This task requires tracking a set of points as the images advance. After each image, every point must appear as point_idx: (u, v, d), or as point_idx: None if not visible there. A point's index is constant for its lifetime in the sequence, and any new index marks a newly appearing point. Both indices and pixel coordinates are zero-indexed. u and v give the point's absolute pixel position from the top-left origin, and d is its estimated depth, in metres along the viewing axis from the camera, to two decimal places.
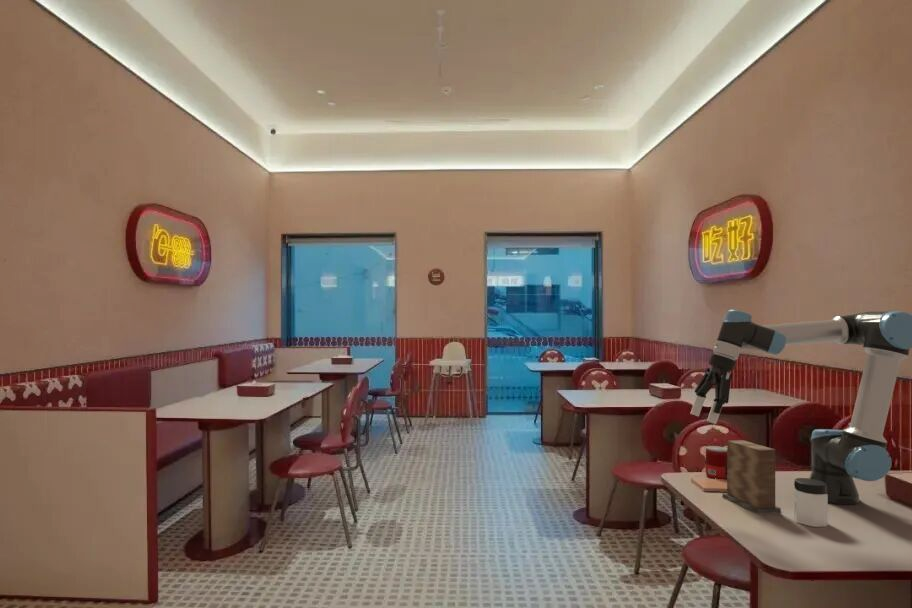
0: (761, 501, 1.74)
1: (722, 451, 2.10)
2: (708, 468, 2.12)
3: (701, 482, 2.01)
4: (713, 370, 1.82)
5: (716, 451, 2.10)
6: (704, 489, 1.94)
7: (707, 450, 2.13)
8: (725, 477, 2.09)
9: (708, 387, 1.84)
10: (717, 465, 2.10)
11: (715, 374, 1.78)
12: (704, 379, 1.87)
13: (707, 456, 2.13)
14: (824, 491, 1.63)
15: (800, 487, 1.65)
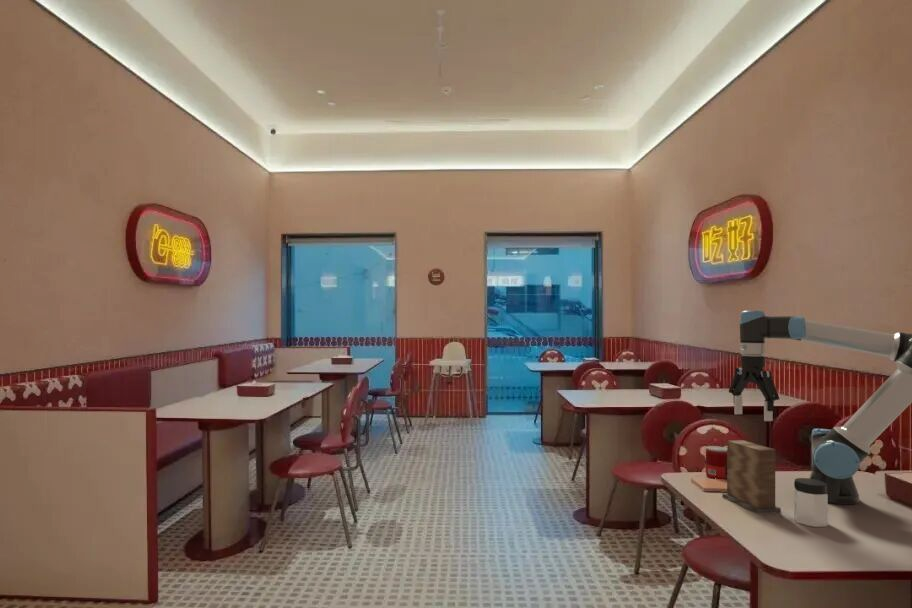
0: (761, 501, 1.74)
1: (722, 451, 2.10)
2: (708, 468, 2.12)
3: (701, 482, 2.01)
4: (746, 370, 1.93)
5: (716, 451, 2.10)
6: (704, 489, 1.94)
7: (707, 450, 2.13)
8: (725, 477, 2.09)
9: (743, 385, 1.96)
10: (717, 465, 2.10)
11: (752, 374, 1.89)
12: (736, 379, 1.98)
13: (707, 456, 2.13)
14: (824, 491, 1.63)
15: (800, 487, 1.65)
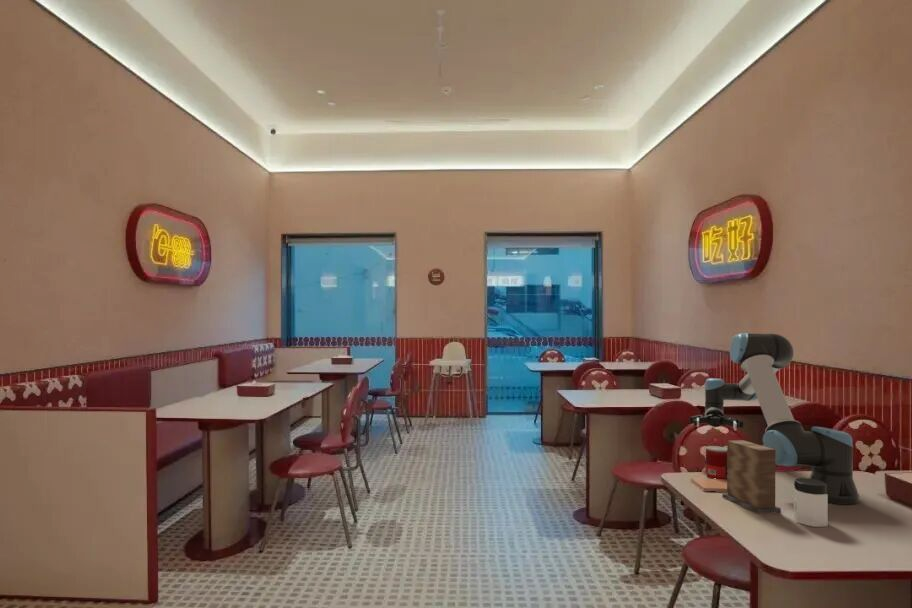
0: (761, 501, 1.74)
1: (722, 451, 2.10)
2: (708, 468, 2.12)
3: (701, 482, 2.01)
4: None
5: (716, 451, 2.10)
6: (704, 489, 1.94)
7: (707, 450, 2.13)
8: (725, 477, 2.09)
9: (727, 421, 2.30)
10: (717, 465, 2.10)
11: None
12: None
13: (707, 456, 2.13)
14: (824, 491, 1.63)
15: (800, 487, 1.65)
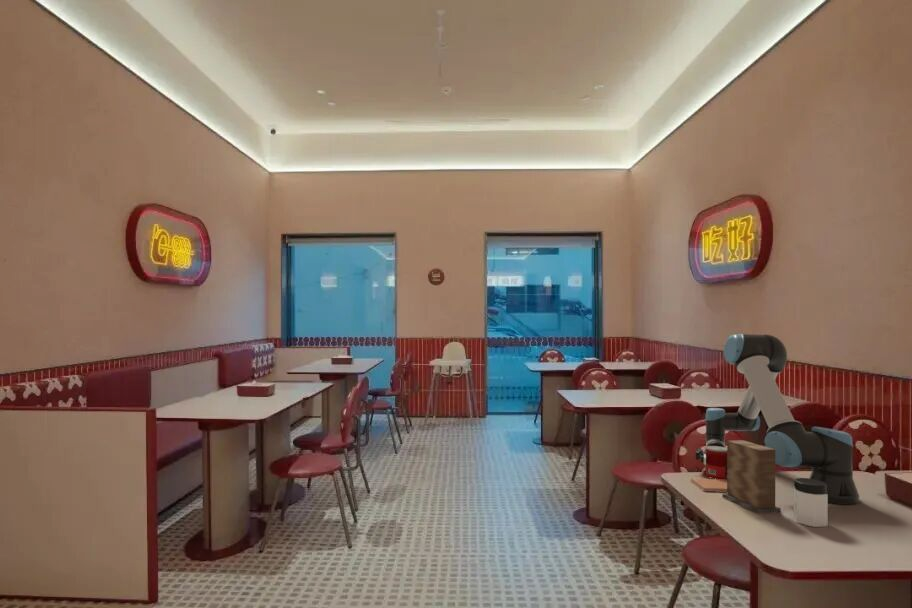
0: (761, 501, 1.74)
1: (722, 451, 2.10)
2: (708, 468, 2.12)
3: (701, 482, 2.01)
4: None
5: (716, 451, 2.10)
6: (704, 489, 1.94)
7: (707, 450, 2.13)
8: (725, 477, 2.09)
9: None
10: (717, 465, 2.10)
11: None
12: None
13: (707, 456, 2.13)
14: (824, 491, 1.63)
15: (800, 487, 1.65)
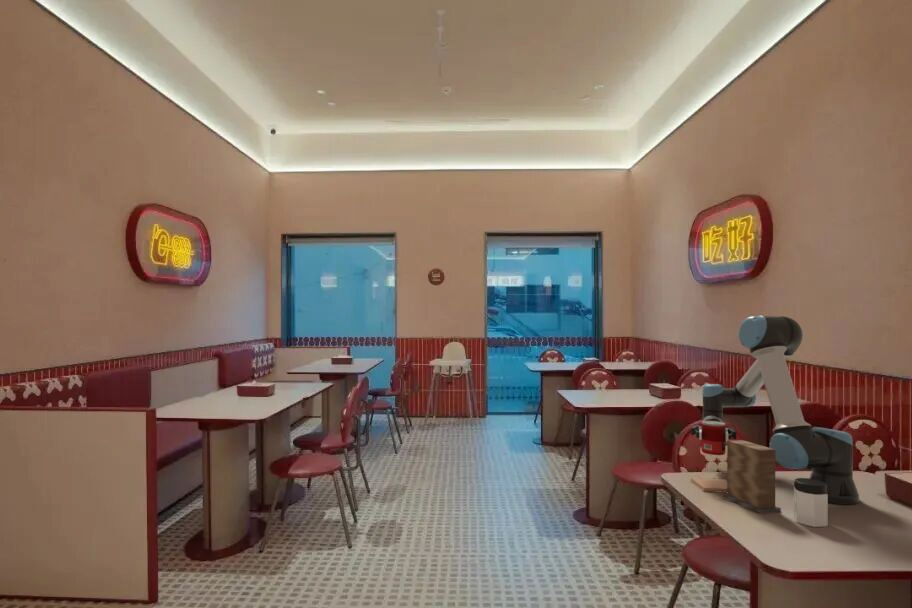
0: (761, 501, 1.74)
1: (718, 425, 2.00)
2: (704, 443, 2.03)
3: (701, 482, 2.01)
4: None
5: (712, 425, 2.01)
6: (704, 489, 1.94)
7: (703, 425, 2.04)
8: (721, 452, 2.00)
9: None
10: (713, 440, 2.00)
11: None
12: None
13: (703, 431, 2.04)
14: (824, 491, 1.63)
15: (800, 487, 1.65)
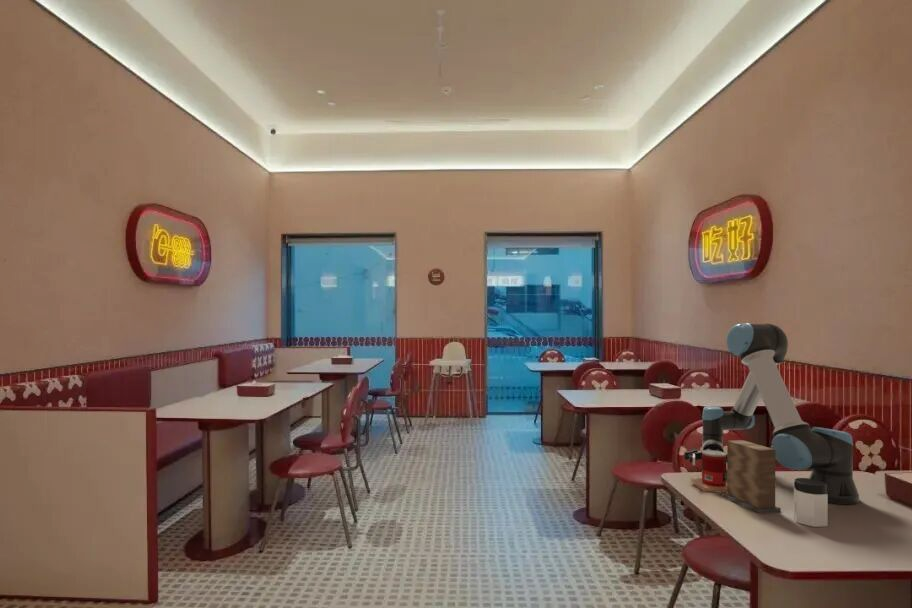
0: (761, 501, 1.74)
1: (719, 456, 1.97)
2: (704, 474, 1.99)
3: (701, 482, 2.01)
4: None
5: (713, 456, 1.97)
6: (704, 489, 1.94)
7: (703, 455, 2.00)
8: (722, 483, 1.97)
9: None
10: (714, 471, 1.97)
11: None
12: None
13: (703, 461, 2.00)
14: (824, 491, 1.63)
15: (800, 487, 1.65)
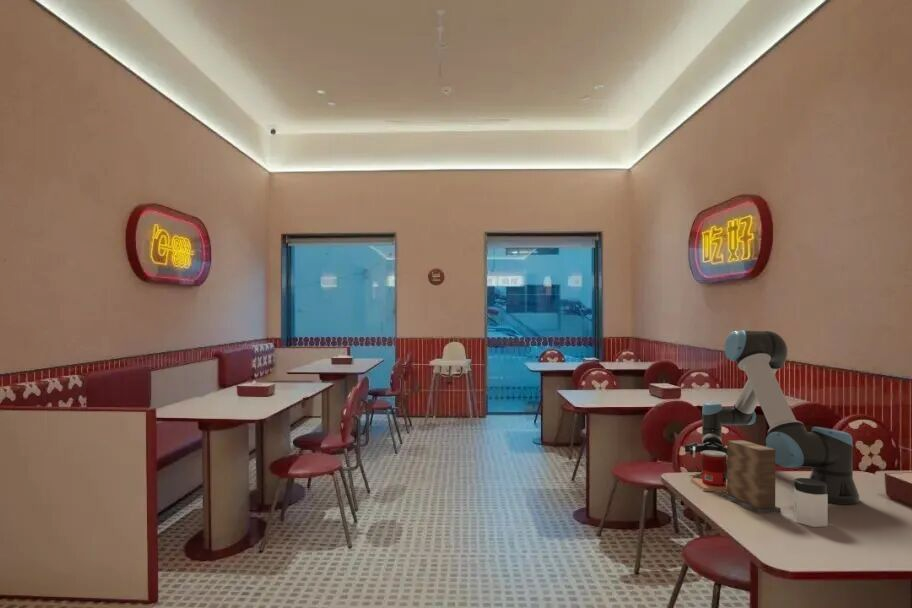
0: (761, 501, 1.74)
1: (719, 456, 1.97)
2: (704, 474, 1.99)
3: (701, 482, 2.01)
4: None
5: (713, 456, 1.97)
6: (704, 489, 1.94)
7: (703, 455, 2.00)
8: (722, 484, 1.97)
9: (725, 450, 2.17)
10: (714, 471, 1.97)
11: None
12: None
13: (703, 461, 2.00)
14: (824, 491, 1.63)
15: (800, 487, 1.65)
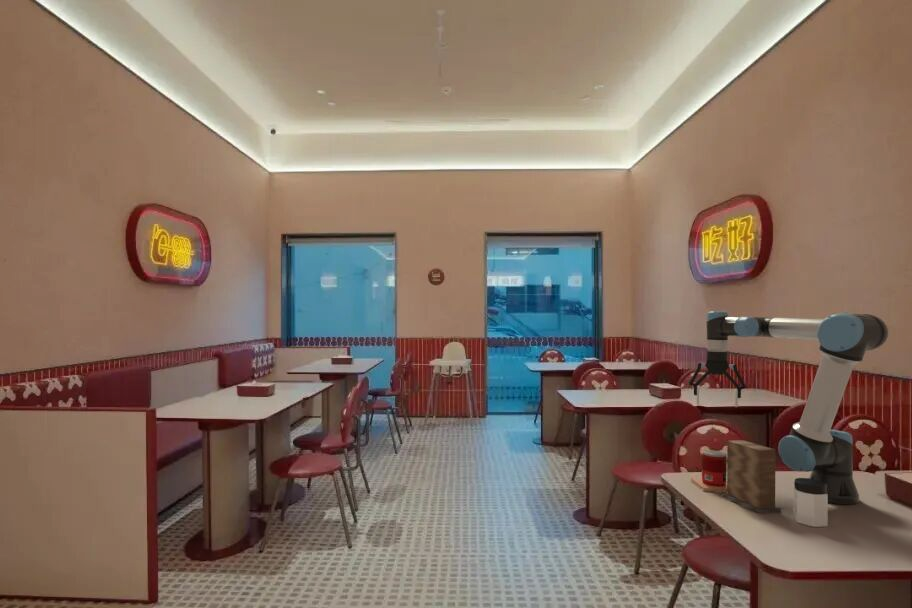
0: (761, 501, 1.74)
1: (719, 456, 1.97)
2: (704, 474, 1.99)
3: (701, 482, 2.01)
4: None
5: (713, 456, 1.97)
6: (704, 489, 1.94)
7: (703, 455, 2.00)
8: (722, 484, 1.97)
9: (729, 379, 2.16)
10: (714, 471, 1.97)
11: None
12: None
13: (703, 461, 2.00)
14: (824, 491, 1.63)
15: (800, 487, 1.65)
